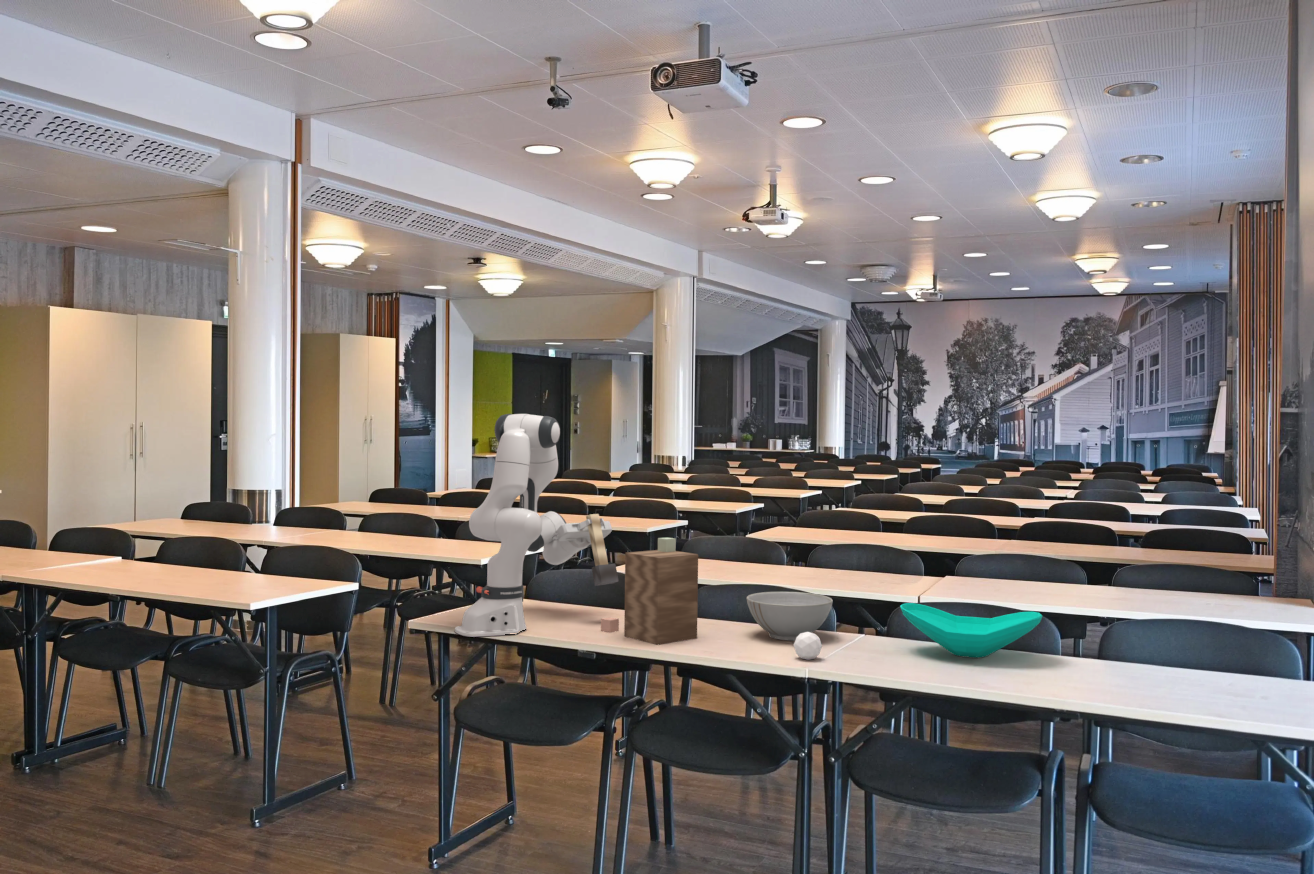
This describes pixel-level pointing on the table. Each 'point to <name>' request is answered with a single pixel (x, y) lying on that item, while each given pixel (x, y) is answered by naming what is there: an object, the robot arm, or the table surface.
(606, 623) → the terracotta block
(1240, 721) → the table surface
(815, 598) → the decorative bowl
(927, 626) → the table top decor
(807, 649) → the geometric ball
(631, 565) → the pedestal
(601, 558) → the mallet
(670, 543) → the sage block
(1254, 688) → the table surface
